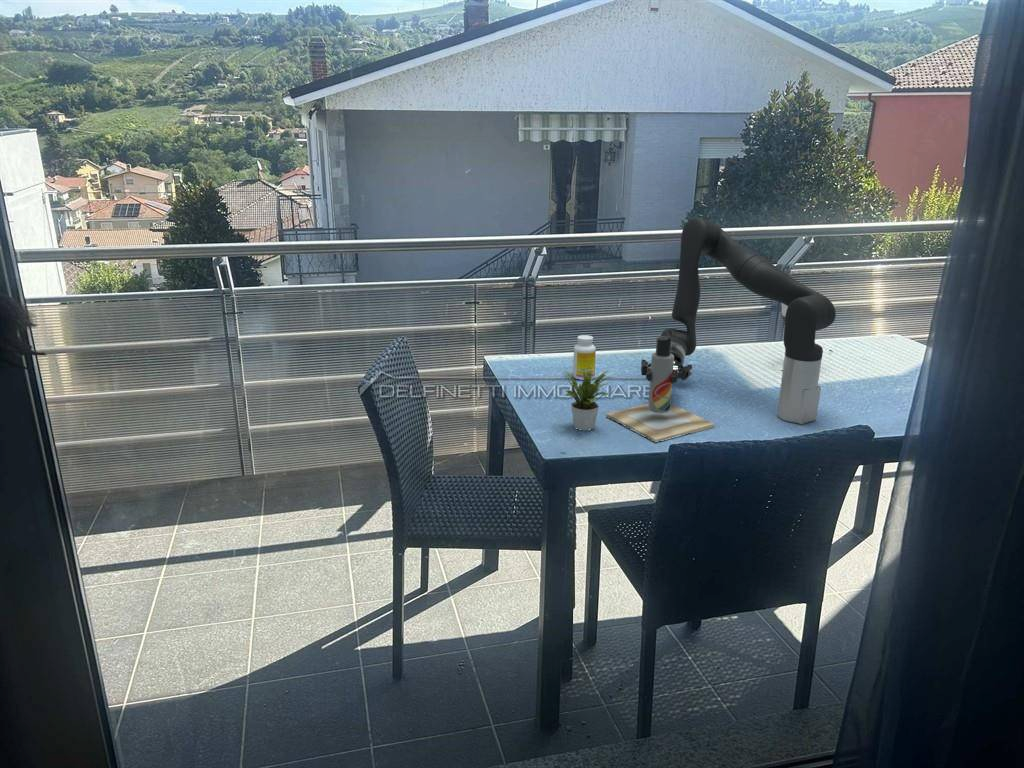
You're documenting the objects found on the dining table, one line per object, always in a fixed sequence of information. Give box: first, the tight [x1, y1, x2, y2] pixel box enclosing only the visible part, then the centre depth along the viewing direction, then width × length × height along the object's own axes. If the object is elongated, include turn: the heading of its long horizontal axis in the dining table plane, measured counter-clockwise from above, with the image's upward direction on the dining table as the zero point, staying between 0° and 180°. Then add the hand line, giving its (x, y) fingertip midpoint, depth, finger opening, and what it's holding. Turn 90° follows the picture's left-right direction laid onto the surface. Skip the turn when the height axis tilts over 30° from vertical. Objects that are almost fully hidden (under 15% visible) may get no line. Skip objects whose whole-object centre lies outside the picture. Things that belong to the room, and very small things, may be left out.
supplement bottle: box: [572, 334, 597, 381], centre depth 240 cm, size 7×7×13 cm
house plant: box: [564, 366, 617, 430], centre depth 201 cm, size 14×14×16 cm
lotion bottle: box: [648, 335, 674, 413], centre depth 204 cm, size 6×6×20 cm
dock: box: [605, 402, 715, 442], centre depth 208 cm, size 20×20×1 cm
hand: (661, 378), depth 202 cm, fingers closed on lotion bottle, 5 cm apart
